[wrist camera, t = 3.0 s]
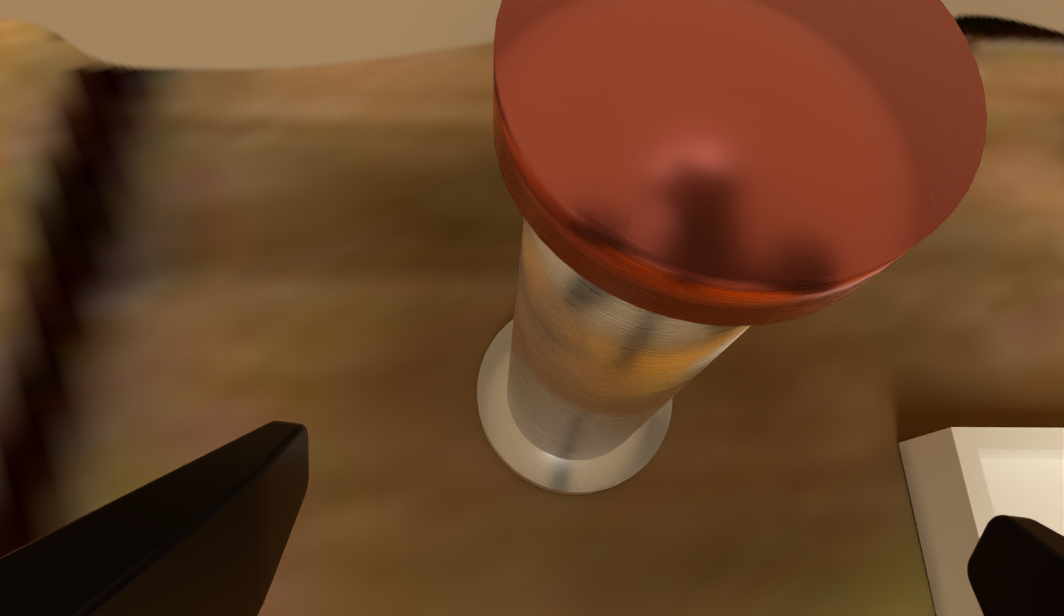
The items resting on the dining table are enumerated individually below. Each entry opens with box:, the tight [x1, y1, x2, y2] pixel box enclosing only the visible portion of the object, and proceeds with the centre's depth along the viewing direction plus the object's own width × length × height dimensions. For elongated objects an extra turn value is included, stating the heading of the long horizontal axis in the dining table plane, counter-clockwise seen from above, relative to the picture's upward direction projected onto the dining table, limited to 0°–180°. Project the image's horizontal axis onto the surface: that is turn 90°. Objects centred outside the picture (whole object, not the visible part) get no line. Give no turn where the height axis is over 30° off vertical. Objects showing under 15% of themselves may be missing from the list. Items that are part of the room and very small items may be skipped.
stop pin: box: [477, 0, 987, 495], centre depth 13 cm, size 6×6×15 cm
